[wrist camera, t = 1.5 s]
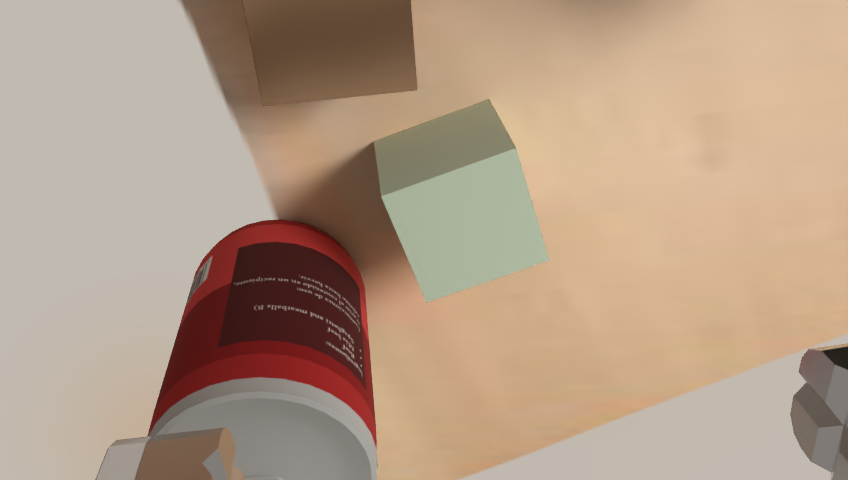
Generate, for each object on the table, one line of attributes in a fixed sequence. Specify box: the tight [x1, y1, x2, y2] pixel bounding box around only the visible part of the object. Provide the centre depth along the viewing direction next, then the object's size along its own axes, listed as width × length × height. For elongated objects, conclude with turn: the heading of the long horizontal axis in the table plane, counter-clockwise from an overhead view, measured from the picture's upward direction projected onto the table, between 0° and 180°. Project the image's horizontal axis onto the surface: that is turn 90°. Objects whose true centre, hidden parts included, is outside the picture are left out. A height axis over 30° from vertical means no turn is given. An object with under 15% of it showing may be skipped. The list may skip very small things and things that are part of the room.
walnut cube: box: [242, 0, 417, 106], centre depth 24 cm, size 5×5×5 cm
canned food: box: [148, 220, 378, 480], centre depth 28 cm, size 8×8×11 cm
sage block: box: [374, 99, 549, 303], centre depth 28 cm, size 5×5×5 cm
